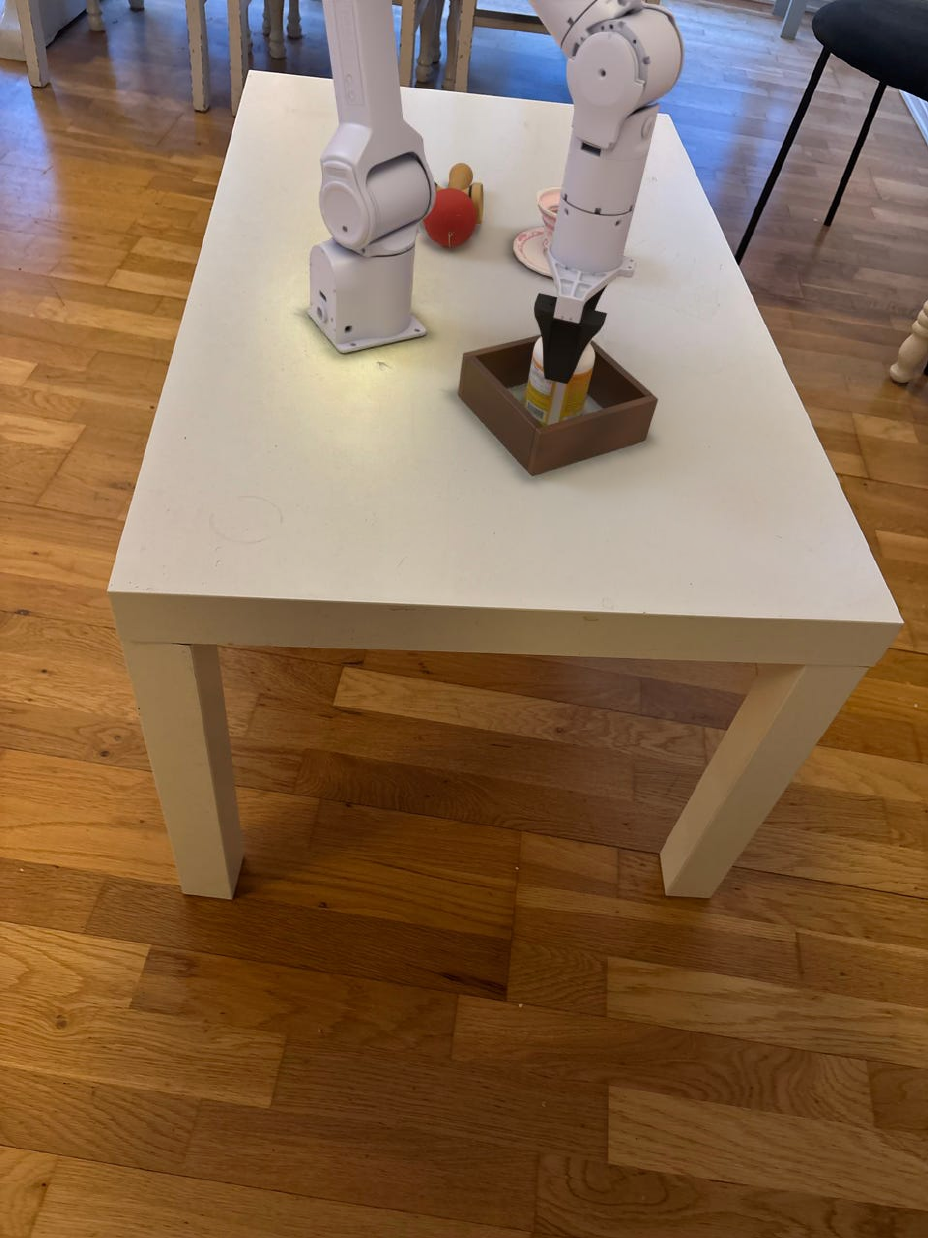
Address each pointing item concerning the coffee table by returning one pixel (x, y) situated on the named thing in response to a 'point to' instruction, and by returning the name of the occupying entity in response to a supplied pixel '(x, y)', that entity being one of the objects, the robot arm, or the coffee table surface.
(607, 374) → the square frame
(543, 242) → the teacup
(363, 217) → the robot arm
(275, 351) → the coffee table surface
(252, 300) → the coffee table surface
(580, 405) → the supplement bottle
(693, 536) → the coffee table surface
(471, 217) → the kendama
